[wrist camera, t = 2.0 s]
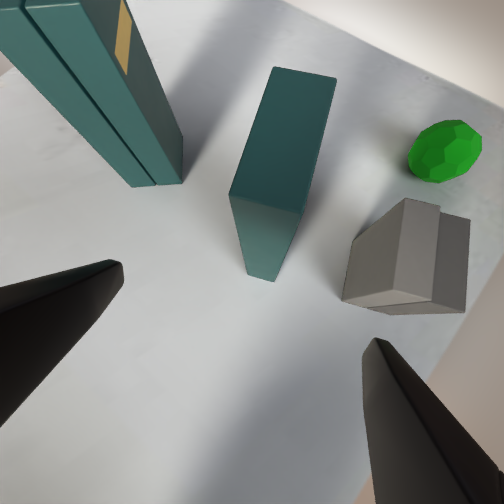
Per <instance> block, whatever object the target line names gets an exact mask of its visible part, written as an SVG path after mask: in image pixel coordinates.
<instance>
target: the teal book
mask: <svg viewBox="0 0 504 504" xmlns="http://www.w3.org/2000/svg"><path fill="white" fill-rule="evenodd" d="M336 83H337V79H336V78H333V77H328V76H322V75H317V74H312V73H307V72H302V71H296V70H291V69H286V68H281V67H273V68H272V71H271V74H270V77H269V80H268V82H267V85H266V88H265V91H264V94H263V97H262V100H261V102H260V105H259V108H258V111H257V114H256V117H255V120H254V122H253V125H252V128H251V131H250V134H249V137H248V140H247V142H246V145H245V148H244V151H243V154H242V157H241V159H240V162H239V165H238V168H237V171H236V174H235V177H234V179H233V182H232V185H231V188H230V191H229V199H230V203H231V207H232V212H233V216H234V220H235V224H236V228H237V232H238V236H239V240H240V245H241V249H242V253H243V257H244V261H245V265H246V269H247V274H248V275H250V276H253V277H257V278H260V279H264V280H267V281H271V282H274V281H275V279H276V277H277V274H278V272H279V270H280V267H281V265H282V263H283V260H284V258H285V255H286V253H287V251H288V248H289V246H290V244H291V241H292V239H293V236H294V234H295V232H296V229H297V227H298V224H299V222H300V220H301V217H302V215H303V213H304V209H305V205H306V201H307V197H308V193H309V189H310V185H311V181H312V177H313V173H314V169H315V165H316V162H317V158H318V154H319V150H320V146H321V142H322V138H323V134H324V130H325V126H326V122H327V118H328V114H329V110H330V106H331V103H332V99H333V95H334V91H335V87H336Z"/></svg>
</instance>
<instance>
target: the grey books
mask: <svg viewBox="0 0 504 504" xmlns="http://www.w3.org/2000/svg"><path fill="white" fill-rule="evenodd" d="M470 221H471V220H470V219H466V218H462V217H458V216H454V215H449V214H445V213H441V212H440V206H438V205H434V204H429V203H425V202H421V201H417V200H412V199H408V198H404V199H403V200H402V201H401V202H399V203H398V204H397V205H396V206H395V207H393V208H392V209H391V210H390V211H388V212H387V213H386V214H385V215H384V216H382V217H381V218H380V219H379V220H378V221H376V222H375V223H374V224H373V225H372V226H370V227H369V228H368V229H367V230H366V231H364V232H363V233H362V234H361V235H360V236H358V237H357V238H356V239H355V240H354V241H353V242H352V248H351V253H350V258H349V263H348V269H347V274H346V279H345V284H344V290H343V295H342V302H346V303H349V304H353V305H357V306H360V307H364V308H367V309H371V310H374V311H378V312H381V313H385V314H388V315H412V314H443V313H465V308H466V290H467V273H468V256H469V238H470Z"/></svg>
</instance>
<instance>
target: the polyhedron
mask: <svg viewBox="0 0 504 504" xmlns="http://www.w3.org/2000/svg"><path fill="white" fill-rule="evenodd" d="M481 151H482V136H480V135H479V134H478V133H477V132H476V131H475V130H474V129H472V128H471V127H470V126H469V125H467V124H466V123H465V122H463V121H462V120H445V121H442V122H439V123H436V124H434V125H432V126H430V127H429V128H427V129H425V130H424V131H422V132H421V133H420V135H419V136H418V138H417V139H416V141H415V143H414V145H413V146H412V148H411V150H410V151H409V153H408V162H409V168H410V170H411V171H412V172H413V173H414V174H415V175H416V176H417V177H418V178H419V179H421V180H423V181H425V182H433V183H441V182H444V181H447V180H450V179H452V178H455V177H457V176H459V175H462V174H464V173H466V172H467V171H468V170H469V169H470V167H471V166H472V165H473V164H474V162H475V161H476V160H477V158H478V156H479V155H480V153H481Z"/></svg>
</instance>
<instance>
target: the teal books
mask: <svg viewBox="0 0 504 504" xmlns="http://www.w3.org/2000/svg"><path fill="white" fill-rule="evenodd" d="M0 51H1V52H2V53H3V54H4V55H5V56H6V57H7V58H8V59H9V60H10V62H12V64H13V65H14V66H15V67H16V68H17V69H18V70H19V71H20V72H21V73H22V74H23V75H24V76H25V77H26V78H27V79H28V80H29V81H30V82H31V83H32V84H33V85H34V86H35V87H36V89H37V90H38V91H39V92H40V93H41V94H42V95H43V96H44V97H45V98H46V99H47V100H48V101H49V102H50V103H51V104H52V105H53V106H54V107H55V108H56V109H57V110H58V111H59V112H60V113H61V115H62V116H63V117H64V118H65V119H66V120H67V121H68V122H69V123H70V124H71V125H72V126H73V127H74V128H75V129H76V130H77V131H78V132H79V133H80V134H81V135H82V136H83V137H84V138H85V139H86V140H87V142H88V143H89V144H90V145H91V146H92V147H93V148H94V149H95V150H96V151H97V152H98V153H99V154H100V155H101V156H102V157H103V158H104V159H105V160H106V161H107V162H108V163H109V164H110V165H111V166H112V168H113V169H114V170H115V171H116V172H117V173H118V174H119V175H120V176H121V177H122V178H123V179H124V180H125V181H126V182H127V183H128V184H129V185H130V186H131V187H143V186H155V185H156V183H157V185H170V184H182V157H183V136H182V134H181V132H180V129H179V127H178V124H177V122H176V120H175V117H174V115H173V112H172V110H171V108H170V105H169V103H168V100H167V98H166V96H165V93H164V91H163V88H162V86H161V84H160V81H159V79H158V76H157V74H156V72H155V69H154V67H153V64H152V62H151V60H150V57H149V55H148V52H147V50H146V48H145V45H144V43H143V40H142V38H141V36H140V33H139V31H138V28H137V26H136V24H135V21H134V19H133V16H132V14H131V12H130V9H129V7H128V4H127V2H126V0H0Z"/></svg>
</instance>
